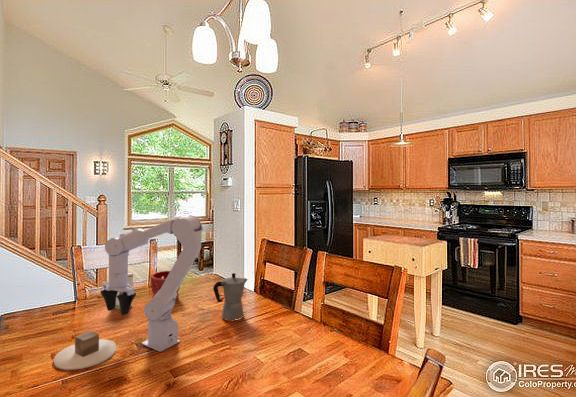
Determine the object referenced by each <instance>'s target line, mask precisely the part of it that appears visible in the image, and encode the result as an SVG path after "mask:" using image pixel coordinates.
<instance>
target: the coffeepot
mask: <svg viewBox="0 0 576 397" xmlns="http://www.w3.org/2000/svg"><path fill="white" fill-rule="evenodd" d="M236 275H237V274H236V273H234V272H233V273H231V277H227V278H224V279H222V280H221V281H217V282H215V283H214V285H213V287H212V288H213V292H214V294H215V298H216V301H217V303H222V302H223V306H222V310H221V311H222V312H221V319H222V320H223V319H227V320H235V319H239V318H241V317H242V316H244V315H245V314H244V309H243V302H242V297H243V296H244V289H245V284H246V283H247V281H248V280H249V279H248V278H244V277H236ZM219 287H223V297H224V301H223V299H222V298H221V299H220V297H221V296H220V293H219V292H220V291H219V289H218V288H219ZM244 317H245V316H244Z"/></svg>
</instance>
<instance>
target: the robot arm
mask: <svg viewBox="0 0 576 397" xmlns="http://www.w3.org/2000/svg"><path fill="white" fill-rule="evenodd" d="M203 229H204V227H203V224H202V222H201V220H200V219H199V218H198V217H197V216H195V215H188V216H186V217H177V218H175V219H169V220H166V221H164V222H162V223H159V224H157V225H155V226H152V227H149V228H148V229H143V228H138V227H134V228H133V229H131V231H130V232H127V233H121V234H119V236H117V237H111V238H109V239H108V240H107V241H106V242H105V245H104V250H105V253H106V254H107V255H108V280H107V281H104V282H102V288H103V289H102V290H100V294H101V296H102V297H103V299H104V302H105V306H106V309H107V311H108V312H110V311H113V310H115V309H116V308H115V304H116V296H117V298H118V300H119V303H120V309H119V311H120V315H121V316H125V315H128V314H129V312H130V309H131V307H132V306H131V303H132V304H133V300H134V298H136V296H137V293H136V292H135V287H133V288H132V287H131V286H130V285H129V284H128V273H129V253H130V251H132V250H134V249H137V248H139V247H142V246H145V245H147V244H148V243H149V241H150V239H153V238H155V237H158V236H161V235H164V234H169V235H174V237H175V238H176V239H177V240H178V242H179V243H180V244H181V246H182V249H181V252H180V253H179V255H178V257H177V258H176V259H175V260H176V261H174V262H175V263H174V264H173V266H172V267H171V269H170V270H169V271H170V273H169V275H168V276H167V278H166V280H165V282H164V283H163V285H162V287H161V289H160V290H159V291H158V292H157V293H156V294H155V295H154V294H153V295H154V297H153V299H152V298H151V300H150V301H148V302H146V304H144V307H143V313H144V316H145V318H147V339H146V340H144V341H143V342H141V345H142V346H145V347H148V348H151V349H153V350H154V351H158V352H160V353H161V352H163V351H165V350H167V349H168V348H170V347H174V346H175V345H177V344H179V343H180V341H181V340H180V339H179V323H178V321H176V320H175V319H174V318H173V316H172V309H174V307H175V304H176V300H175V298H176V296H177V293H176V292H177V290H178V288H179V287H180V288H181V285H182V283H183V281H184V279H185V278H186V276H187V274H188V273H189V271H190V269H191V267H192V265H193V264H194V262H195V260H196V259H197V257H198V255H199V253H200V252H201V250H202V235H203V234H202V233H203ZM118 291H119V292H122V293H123V294H121V295H117V293H118Z"/></svg>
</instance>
